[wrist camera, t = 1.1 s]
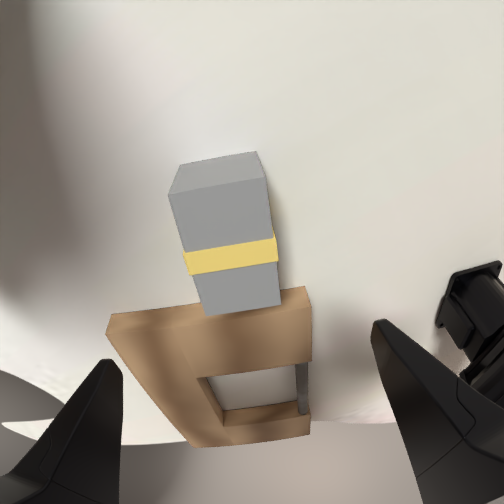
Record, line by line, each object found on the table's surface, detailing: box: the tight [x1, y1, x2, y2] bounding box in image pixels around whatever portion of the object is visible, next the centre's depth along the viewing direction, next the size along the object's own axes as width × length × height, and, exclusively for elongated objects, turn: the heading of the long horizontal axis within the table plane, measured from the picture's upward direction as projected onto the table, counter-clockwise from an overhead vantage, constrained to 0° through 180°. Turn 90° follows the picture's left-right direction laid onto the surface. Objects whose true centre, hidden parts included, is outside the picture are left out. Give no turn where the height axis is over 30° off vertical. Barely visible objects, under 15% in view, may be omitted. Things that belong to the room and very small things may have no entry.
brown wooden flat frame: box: [105, 286, 312, 448], centre depth 26 cm, size 14×22×2 cm, turn 8°
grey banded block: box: [168, 151, 281, 316], centre depth 16 cm, size 4×7×4 cm, turn 8°
